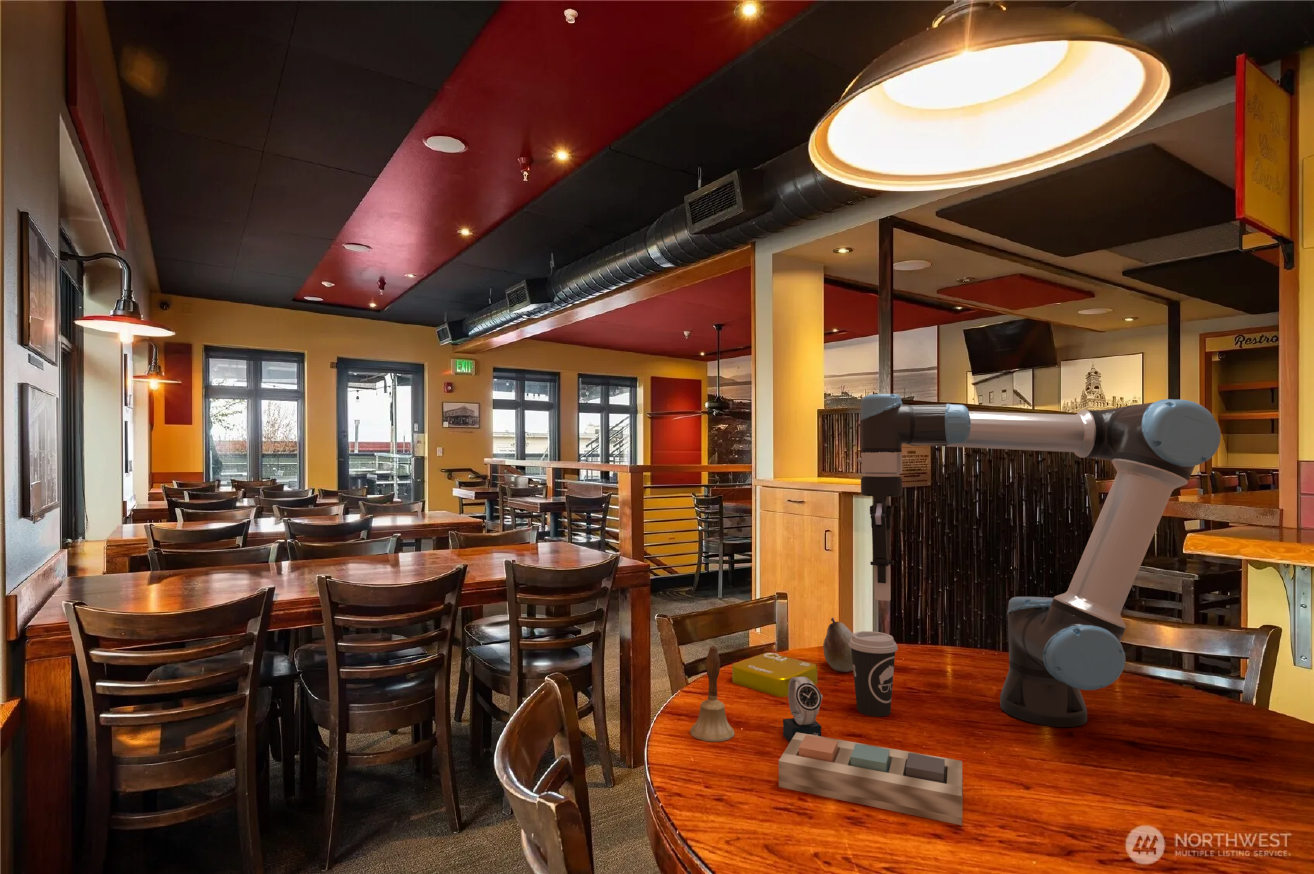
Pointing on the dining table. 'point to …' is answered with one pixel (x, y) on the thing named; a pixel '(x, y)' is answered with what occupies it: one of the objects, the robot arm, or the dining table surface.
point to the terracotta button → (819, 748)
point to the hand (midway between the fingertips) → (882, 599)
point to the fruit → (838, 647)
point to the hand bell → (712, 707)
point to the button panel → (874, 782)
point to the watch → (802, 708)
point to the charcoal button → (925, 768)
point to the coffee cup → (873, 671)
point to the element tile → (771, 673)
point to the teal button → (871, 758)
